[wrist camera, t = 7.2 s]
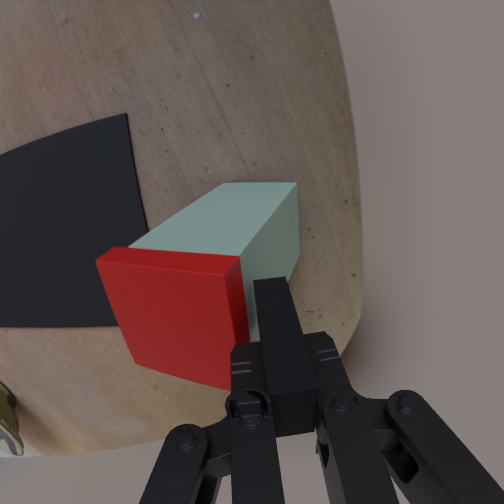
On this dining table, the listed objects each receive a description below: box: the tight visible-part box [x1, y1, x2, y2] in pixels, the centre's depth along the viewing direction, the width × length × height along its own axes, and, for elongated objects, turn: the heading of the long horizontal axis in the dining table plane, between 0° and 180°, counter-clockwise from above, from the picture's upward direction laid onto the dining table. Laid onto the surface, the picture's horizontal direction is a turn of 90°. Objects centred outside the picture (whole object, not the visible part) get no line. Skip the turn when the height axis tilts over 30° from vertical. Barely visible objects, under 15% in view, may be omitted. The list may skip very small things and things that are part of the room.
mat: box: [0, 113, 148, 327], centre depth 25 cm, size 30×20×1 cm, turn 95°
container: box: [95, 182, 300, 391], centre depth 19 cm, size 7×7×14 cm
